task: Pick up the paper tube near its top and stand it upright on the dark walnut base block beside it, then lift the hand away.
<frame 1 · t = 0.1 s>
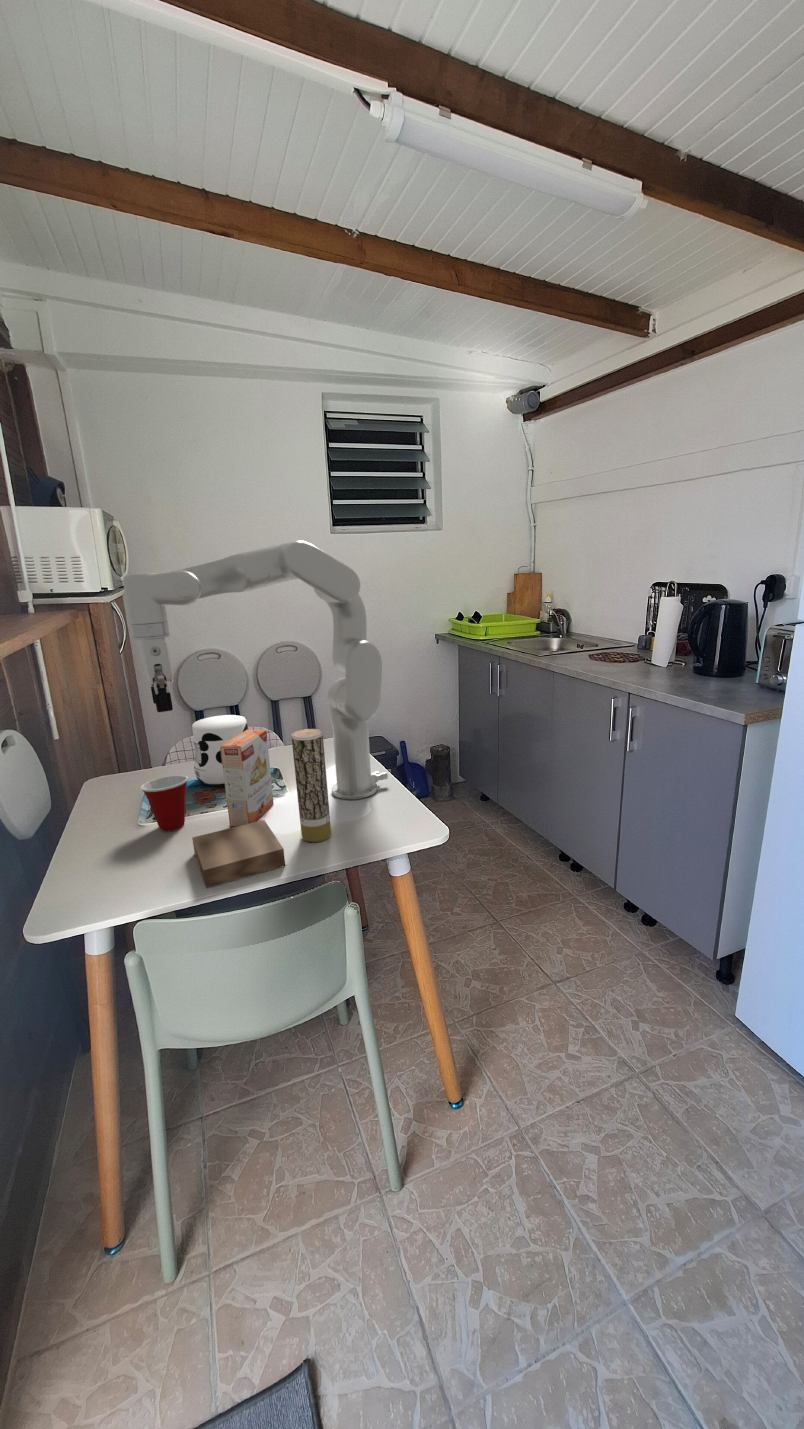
hand: (162, 706, 126), 31 cm above the table, tool pointing down, fingers open, 9 cm apart
paper tube: (316, 837, 129), on the table
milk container: (227, 779, 167), on the table
walnut base: (238, 859, 120), on the table
cracker box: (253, 815, 142), on the table
plastic cup: (172, 826, 138), on the table
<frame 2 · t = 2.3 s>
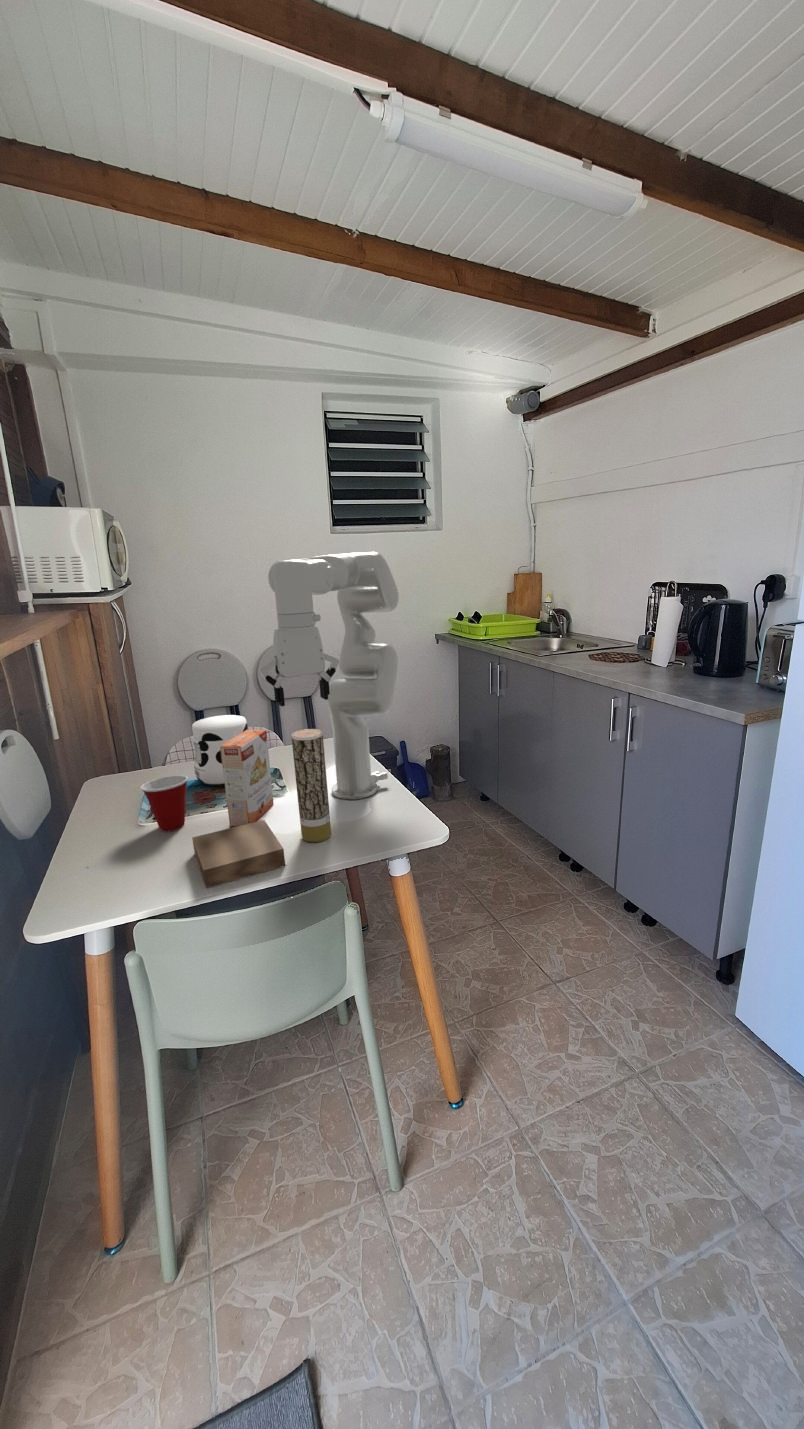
hand: (303, 701, 120), 32 cm above the table, tool pointing down, fingers open, 9 cm apart
nothing on the table moved.
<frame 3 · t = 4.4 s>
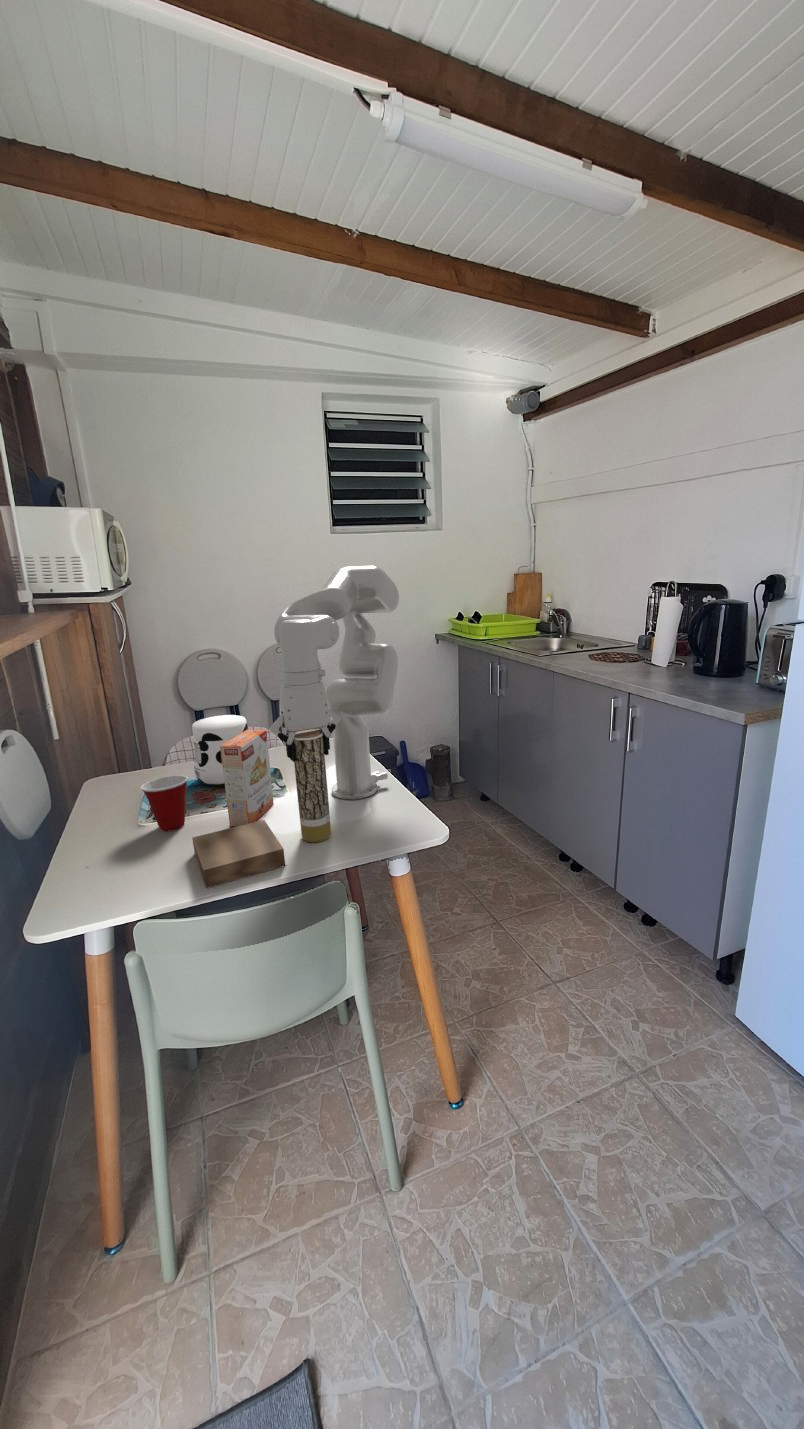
hand: (309, 756, 124), 20 cm above the table, tool pointing down, fingers closed on paper tube, 6 cm apart
paper tube: (316, 837, 129), on the table, touching gripper
everything else where it was.
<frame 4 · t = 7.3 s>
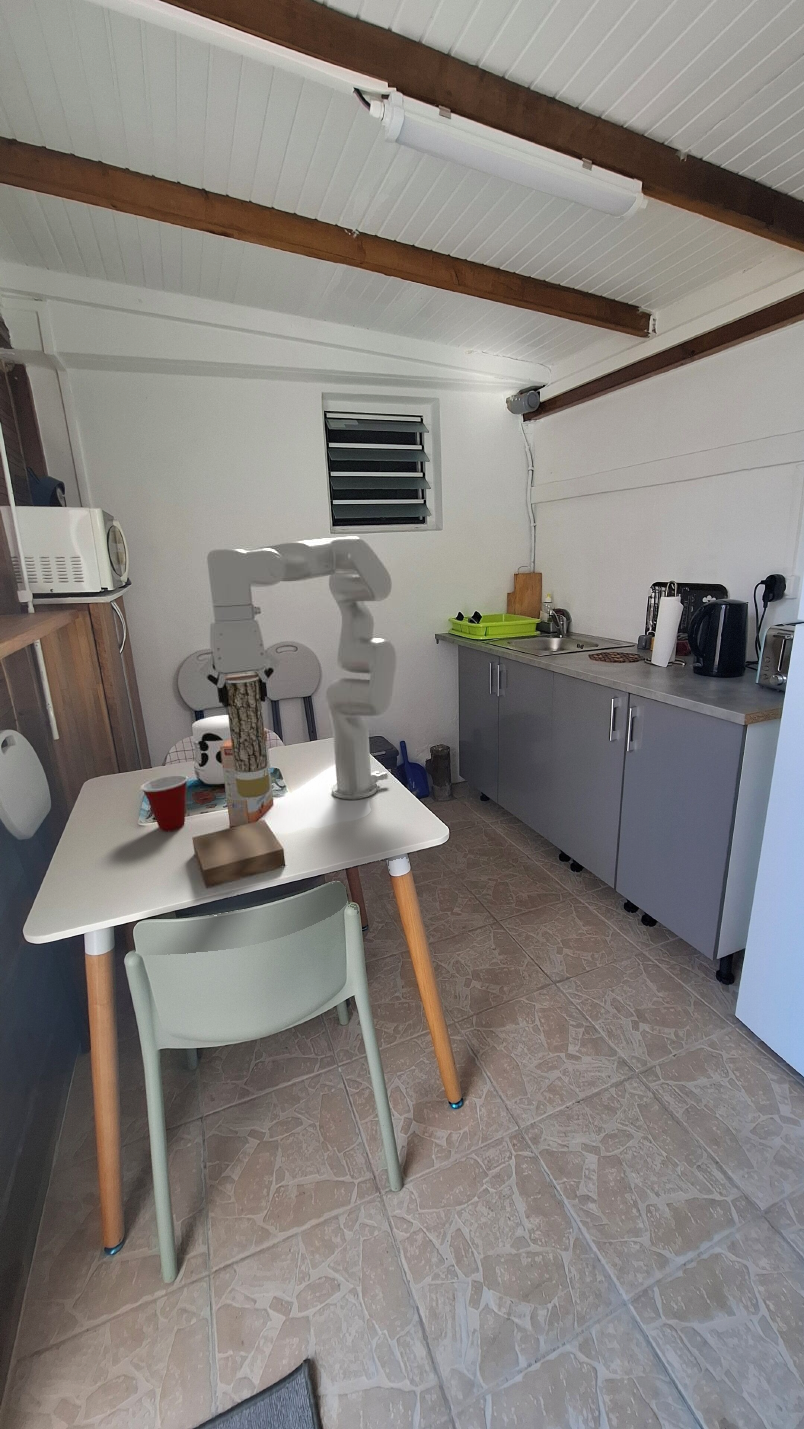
hand: (243, 702, 113), 34 cm above the table, tool pointing down, fingers closed on paper tube, 6 cm apart
paper tube: (254, 793, 118), point 14 cm above the table, touching gripper
everything else where it was.
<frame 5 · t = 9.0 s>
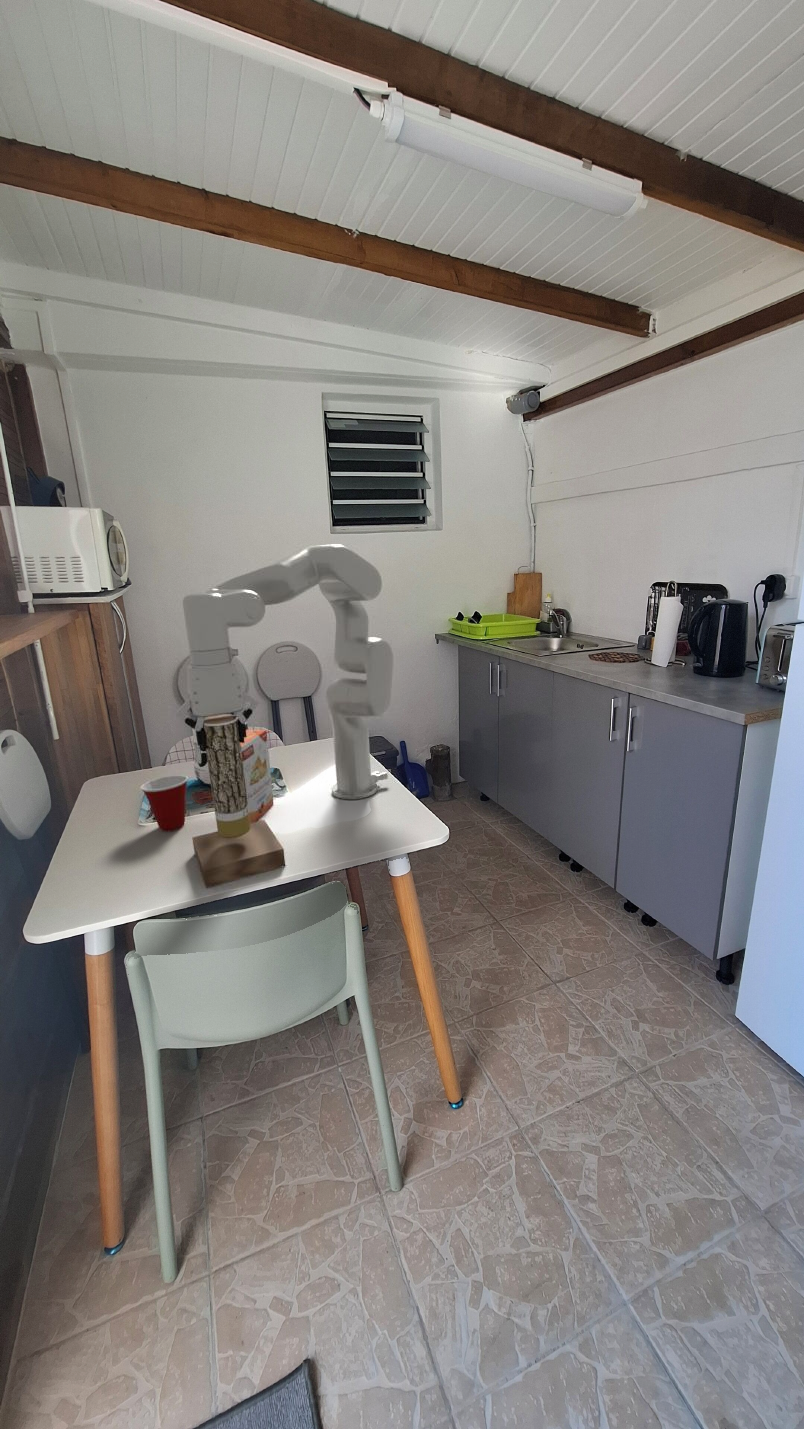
hand: (222, 743, 113), 26 cm above the table, tool pointing down, fingers closed on paper tube, 6 cm apart
paper tube: (235, 832, 118), point 6 cm above the table, touching gripper
everything else where it was.
when the fingers open (25 cm above the table, at t = 10.2 s): paper tube drops 1 cm, resting on walnut base.
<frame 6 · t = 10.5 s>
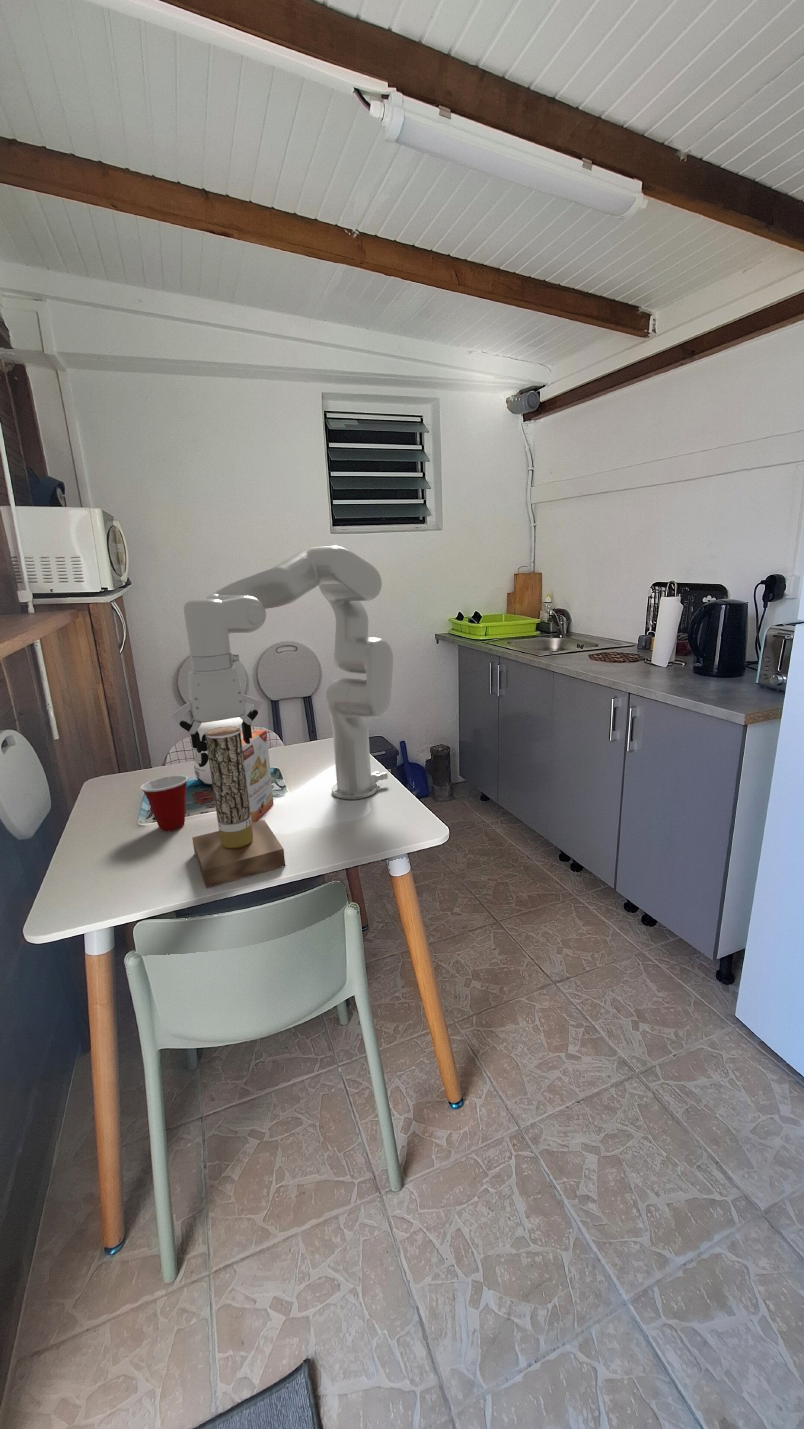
hand: (223, 746, 113), 26 cm above the table, tool pointing down, fingers open, 9 cm apart
paper tube: (237, 843, 119), point 4 cm above the table, touching walnut base
everything else where it was.
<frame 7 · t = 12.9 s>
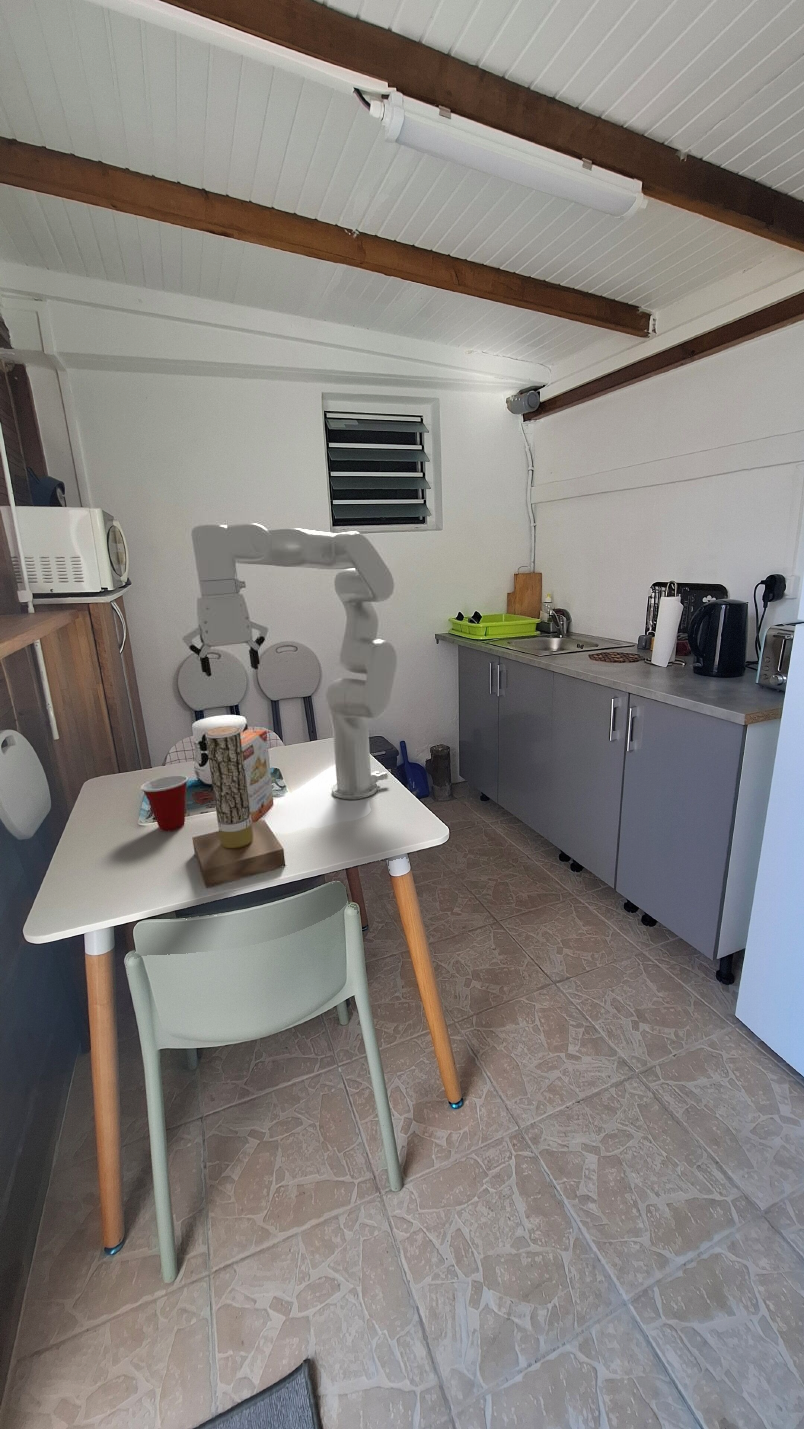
hand: (232, 671, 117), 40 cm above the table, tool pointing down, fingers open, 9 cm apart
nothing on the table moved.
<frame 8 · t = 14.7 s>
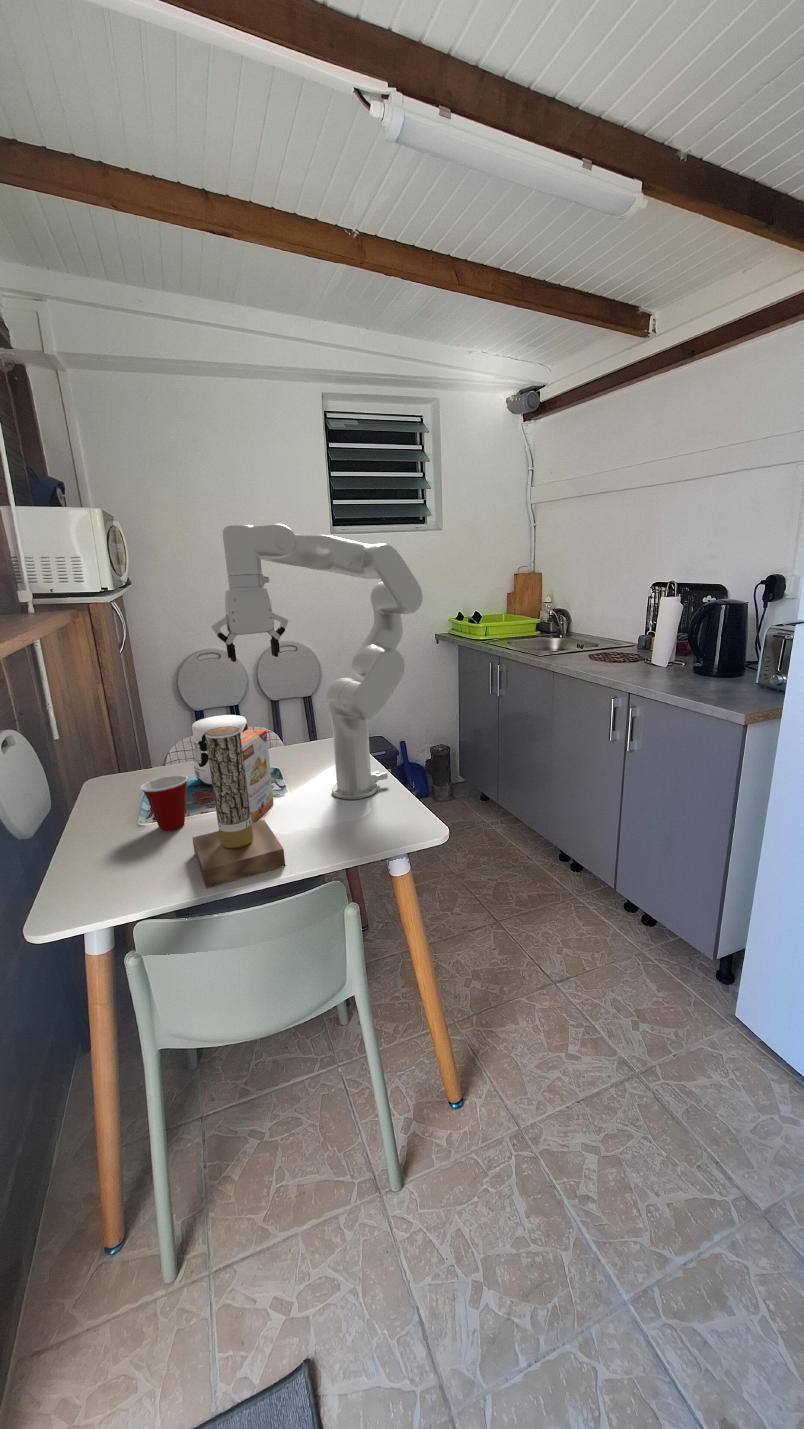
hand: (254, 658, 129), 40 cm above the table, tool pointing down, fingers open, 9 cm apart
nothing on the table moved.
at the end: paper tube inside the target area on the walnut base (0.3 cm from its centre), point 3.8 cm above the walnut base's base; paper tube tilted 0°; the gripper is holding nothing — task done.
